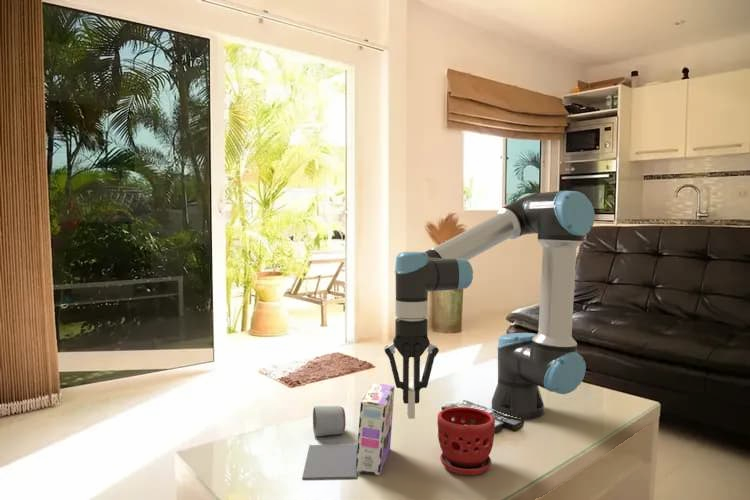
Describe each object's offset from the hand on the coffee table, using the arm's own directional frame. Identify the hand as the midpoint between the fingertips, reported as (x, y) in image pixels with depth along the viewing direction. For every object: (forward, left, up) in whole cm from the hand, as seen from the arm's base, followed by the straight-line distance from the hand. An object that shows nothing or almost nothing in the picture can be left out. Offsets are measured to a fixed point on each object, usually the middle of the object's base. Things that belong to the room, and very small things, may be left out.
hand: (411, 416), depth 119 cm
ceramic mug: (+21, -17, -11) cm, 29 cm away
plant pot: (-12, +3, -11) cm, 17 cm away
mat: (+19, 0, -11) cm, 22 cm away
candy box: (+9, 0, -11) cm, 14 cm away
